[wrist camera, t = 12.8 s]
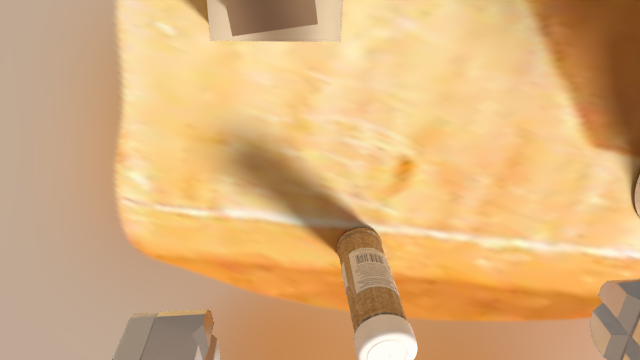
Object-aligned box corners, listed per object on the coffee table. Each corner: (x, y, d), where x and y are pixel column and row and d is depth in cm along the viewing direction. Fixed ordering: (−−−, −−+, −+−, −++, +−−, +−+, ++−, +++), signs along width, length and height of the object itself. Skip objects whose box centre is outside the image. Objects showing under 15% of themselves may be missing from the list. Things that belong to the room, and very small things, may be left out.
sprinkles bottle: (329, 256, 46) (347, 370, 34) (347, 220, 44) (373, 327, 32) (370, 267, 47) (402, 381, 35) (389, 232, 45) (430, 340, 33)
